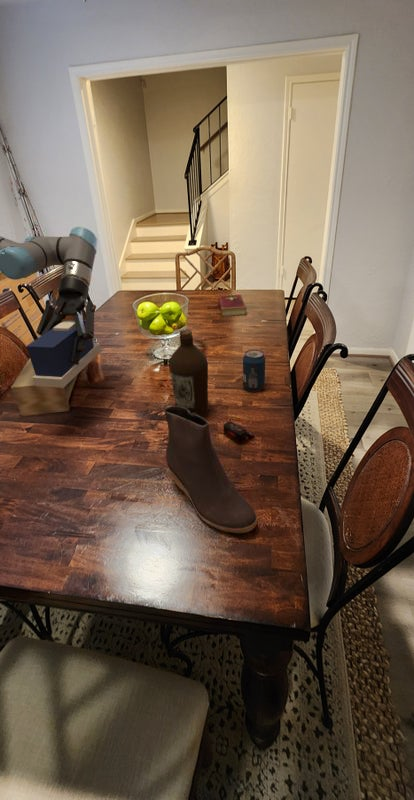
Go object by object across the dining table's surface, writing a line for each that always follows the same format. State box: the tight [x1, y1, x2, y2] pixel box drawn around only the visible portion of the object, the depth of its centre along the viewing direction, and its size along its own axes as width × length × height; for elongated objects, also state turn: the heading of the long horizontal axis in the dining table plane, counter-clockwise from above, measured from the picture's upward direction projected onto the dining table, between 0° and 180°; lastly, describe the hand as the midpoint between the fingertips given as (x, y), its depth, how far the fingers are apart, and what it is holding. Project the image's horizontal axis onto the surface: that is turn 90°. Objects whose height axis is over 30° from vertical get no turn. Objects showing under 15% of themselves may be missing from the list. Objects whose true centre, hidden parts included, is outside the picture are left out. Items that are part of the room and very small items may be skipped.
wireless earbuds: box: [223, 421, 255, 445], centre depth 97 cm, size 5×7×3 cm, turn 43°
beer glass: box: [83, 336, 106, 386], centre depth 125 cm, size 7×7×15 cm
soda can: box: [242, 349, 266, 393], centre depth 116 cm, size 7×7×12 cm
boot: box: [163, 405, 258, 534], centre depth 74 cm, size 9×24×20 cm, turn 44°
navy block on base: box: [26, 319, 102, 388], centre depth 99 cm, size 22×8×11 cm, turn 169°
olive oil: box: [168, 328, 209, 418], centre depth 103 cm, size 11×11×25 cm
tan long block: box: [10, 358, 79, 417], centre depth 122 cm, size 14×30×10 cm, turn 8°
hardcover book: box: [218, 294, 247, 317], centre depth 186 cm, size 12×21×4 cm, turn 2°
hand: (59, 362), depth 96 cm, fingers closed on navy block on base, 8 cm apart
